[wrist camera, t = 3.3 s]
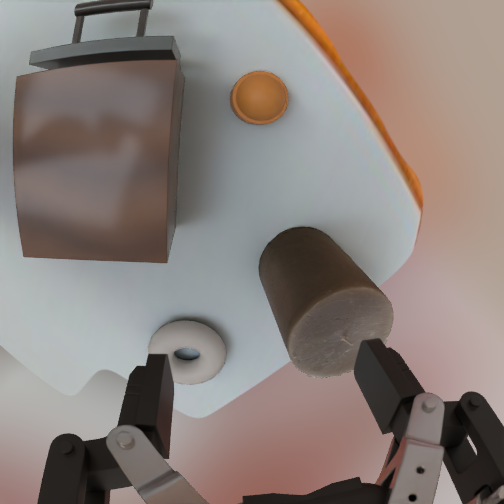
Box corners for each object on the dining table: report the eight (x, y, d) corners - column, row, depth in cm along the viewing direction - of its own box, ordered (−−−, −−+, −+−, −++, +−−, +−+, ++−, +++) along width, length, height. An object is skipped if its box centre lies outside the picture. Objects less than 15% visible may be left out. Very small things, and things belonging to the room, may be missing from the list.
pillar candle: (272, 217, 34) (318, 286, 20) (348, 236, 36) (420, 302, 23) (248, 294, 37) (274, 388, 24) (321, 305, 40) (370, 388, 26)
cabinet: (60, 84, 24) (16, 76, 16) (185, 77, 27) (177, 59, 18) (60, 224, 30) (23, 257, 22) (175, 226, 33) (167, 263, 24)
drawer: (71, 21, 21) (41, 1, 14) (186, 11, 23) (182, -17, 16) (59, 197, 28) (27, 218, 22) (170, 198, 31) (161, 219, 24)
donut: (189, 300, 37) (133, 342, 38) (188, 316, 34) (130, 359, 35) (240, 347, 41) (186, 382, 42) (244, 365, 38) (186, 400, 39)
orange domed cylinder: (227, 121, 29) (231, 121, 25) (232, 72, 27) (237, 64, 23) (278, 126, 30) (290, 127, 26) (283, 78, 28) (296, 72, 24)
